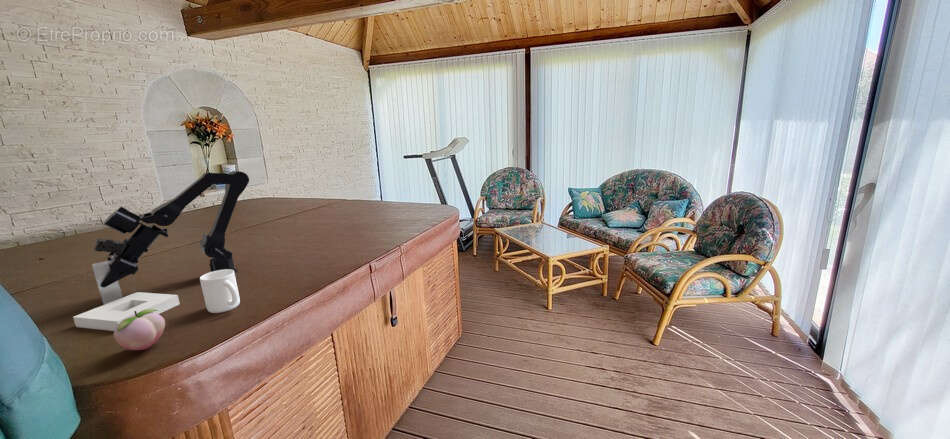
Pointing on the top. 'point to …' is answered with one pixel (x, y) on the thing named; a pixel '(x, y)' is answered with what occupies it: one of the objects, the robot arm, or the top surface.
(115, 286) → the grey square peg
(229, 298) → the mug
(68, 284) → the top surface
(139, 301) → the socket plate
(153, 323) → the decorative fruit
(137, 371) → the top surface
